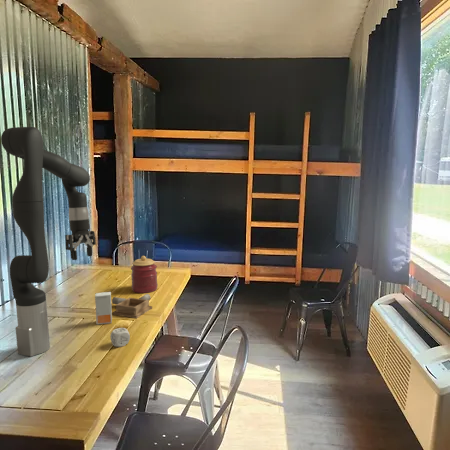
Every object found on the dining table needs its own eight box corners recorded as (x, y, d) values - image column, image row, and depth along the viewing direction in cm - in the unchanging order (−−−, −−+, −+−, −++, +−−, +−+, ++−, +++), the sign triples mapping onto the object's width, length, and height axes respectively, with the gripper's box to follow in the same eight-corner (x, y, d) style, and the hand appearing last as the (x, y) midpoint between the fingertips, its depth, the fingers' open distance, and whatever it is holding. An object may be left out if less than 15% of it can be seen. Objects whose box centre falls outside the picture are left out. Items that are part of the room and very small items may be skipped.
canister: (160, 291, 196) (158, 257, 194) (134, 295, 192) (132, 259, 189) (154, 284, 208) (153, 252, 206) (130, 287, 204) (128, 254, 201)
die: (130, 343, 139) (129, 330, 138) (117, 348, 136) (116, 334, 135) (123, 339, 143) (122, 326, 142) (110, 343, 139) (109, 330, 138)
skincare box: (96, 325, 156) (94, 296, 154) (96, 321, 160) (95, 292, 158) (112, 323, 157) (110, 294, 155) (112, 319, 161) (110, 291, 159)
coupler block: (136, 318, 162) (136, 308, 162) (101, 312, 169) (100, 303, 168) (159, 303, 179) (158, 295, 178) (126, 299, 185) (125, 291, 185)
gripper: (72, 220, 151) (76, 261, 152) (98, 216, 164) (101, 255, 165) (58, 220, 154) (62, 261, 155) (84, 217, 167) (87, 254, 168)
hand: (82, 257), depth 160 cm, fingers open, 8 cm apart
